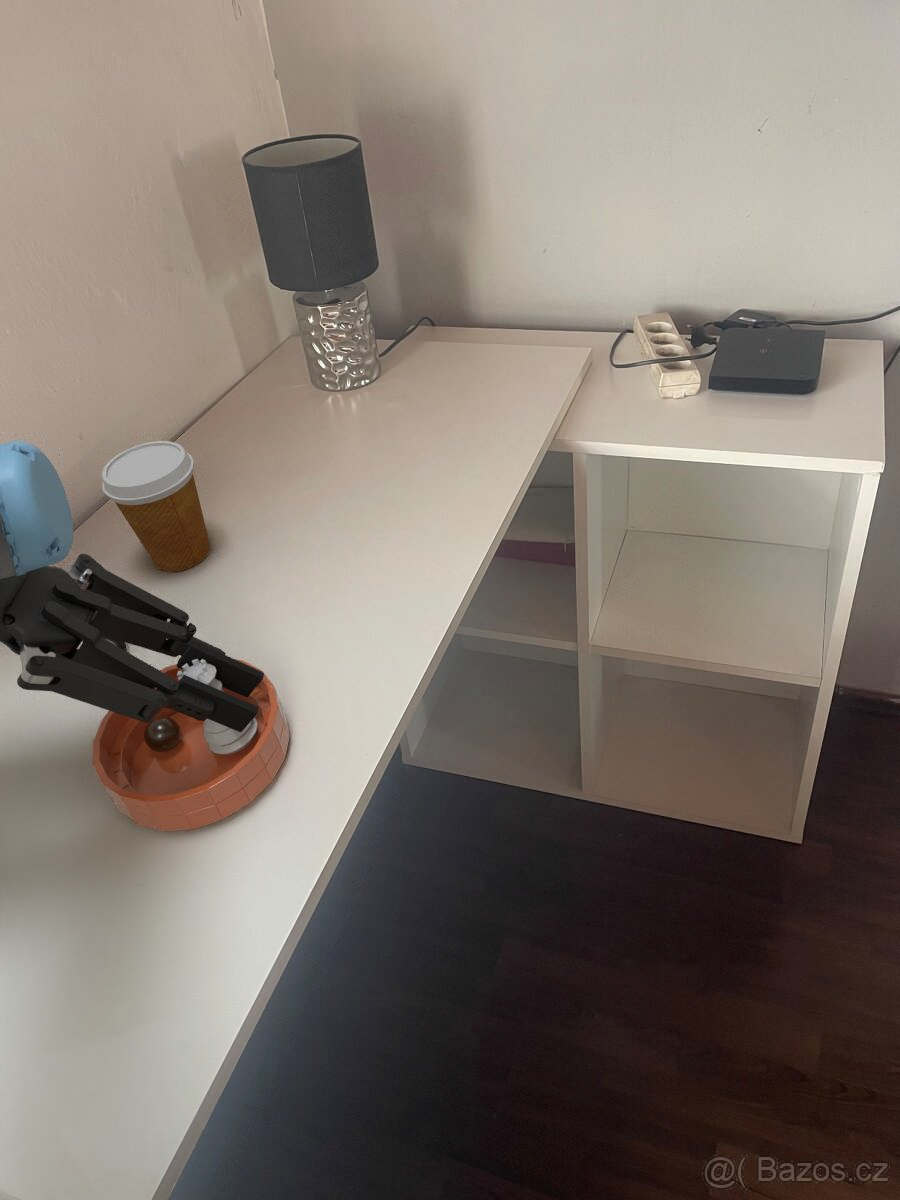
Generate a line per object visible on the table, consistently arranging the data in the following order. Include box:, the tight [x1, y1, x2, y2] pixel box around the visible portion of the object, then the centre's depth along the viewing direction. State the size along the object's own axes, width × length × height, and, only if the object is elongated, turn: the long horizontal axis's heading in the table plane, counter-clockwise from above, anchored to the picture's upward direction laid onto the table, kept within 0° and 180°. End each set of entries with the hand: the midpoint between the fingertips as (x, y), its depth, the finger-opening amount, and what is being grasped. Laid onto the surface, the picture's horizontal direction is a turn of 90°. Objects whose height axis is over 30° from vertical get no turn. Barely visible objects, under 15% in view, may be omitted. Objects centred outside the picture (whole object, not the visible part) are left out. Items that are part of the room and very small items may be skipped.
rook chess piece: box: [177, 659, 258, 755], centre depth 71 cm, size 4×4×8 cm
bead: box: [144, 717, 181, 752], centre depth 73 cm, size 3×3×3 cm
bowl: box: [91, 658, 290, 832], centre depth 72 cm, size 15×15×4 cm
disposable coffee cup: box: [101, 440, 211, 573], centre depth 93 cm, size 10×10×12 cm
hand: (252, 701), depth 72 cm, fingers closed on rook chess piece, 3 cm apart
